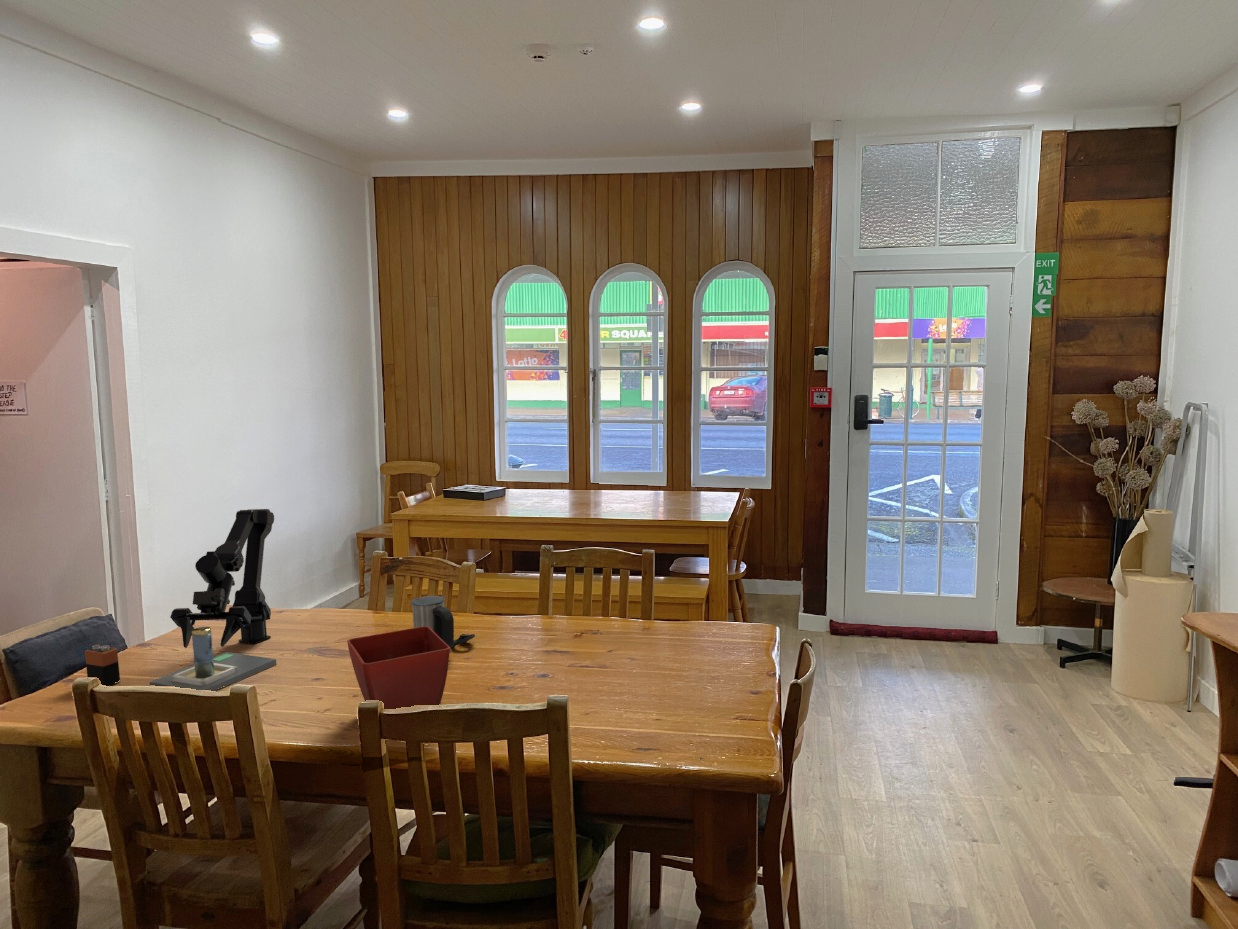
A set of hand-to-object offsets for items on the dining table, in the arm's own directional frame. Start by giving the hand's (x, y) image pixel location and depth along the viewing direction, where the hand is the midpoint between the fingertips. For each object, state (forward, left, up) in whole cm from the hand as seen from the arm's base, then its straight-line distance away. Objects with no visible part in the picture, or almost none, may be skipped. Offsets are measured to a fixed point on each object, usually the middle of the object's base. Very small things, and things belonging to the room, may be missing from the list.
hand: (203, 646), depth 222 cm
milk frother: (-42, +44, -9) cm, 61 cm away
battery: (+10, -24, -9) cm, 28 cm away
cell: (0, 0, -7) cm, 7 cm away
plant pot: (0, +61, -9) cm, 62 cm away
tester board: (-4, -1, -9) cm, 10 cm away
